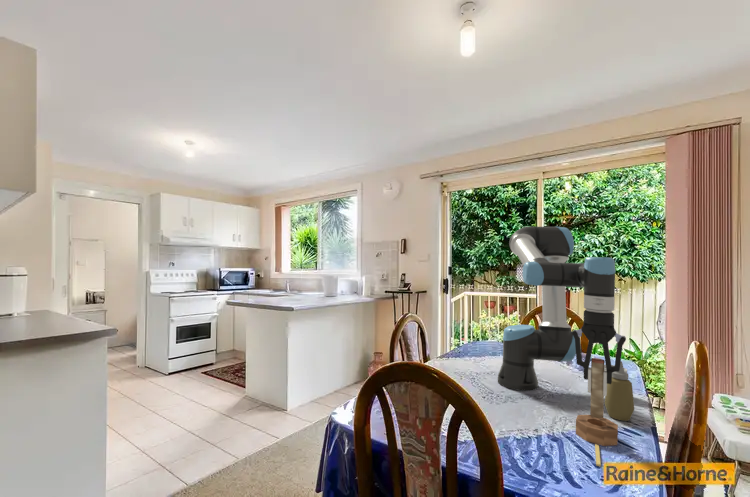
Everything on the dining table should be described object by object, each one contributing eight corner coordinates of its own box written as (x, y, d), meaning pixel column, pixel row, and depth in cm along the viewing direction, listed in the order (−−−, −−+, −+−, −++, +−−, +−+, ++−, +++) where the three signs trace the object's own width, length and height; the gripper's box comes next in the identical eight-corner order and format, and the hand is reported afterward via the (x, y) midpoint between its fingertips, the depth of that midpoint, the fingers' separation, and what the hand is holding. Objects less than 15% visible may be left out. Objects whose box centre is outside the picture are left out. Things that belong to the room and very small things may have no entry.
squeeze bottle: (635, 425, 112) (636, 366, 112) (604, 418, 116) (605, 361, 116) (633, 416, 119) (634, 360, 119) (604, 410, 123) (605, 356, 123)
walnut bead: (574, 437, 103) (574, 423, 103) (578, 425, 111) (578, 411, 111) (617, 449, 97) (617, 434, 97) (617, 435, 105) (618, 421, 105)
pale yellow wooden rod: (600, 466, 88) (600, 464, 88) (596, 465, 89) (596, 463, 89) (598, 446, 98) (598, 445, 98) (595, 445, 98) (595, 444, 98)
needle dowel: (589, 416, 103) (590, 359, 104) (590, 412, 106) (591, 357, 107) (603, 419, 102) (604, 362, 102) (603, 415, 104) (604, 359, 105)
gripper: (565, 308, 106) (563, 389, 106) (633, 315, 97) (631, 404, 96) (568, 306, 112) (567, 382, 112) (632, 312, 103) (631, 395, 103)
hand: (597, 392), depth 104 cm, fingers closed on needle dowel, 3 cm apart
